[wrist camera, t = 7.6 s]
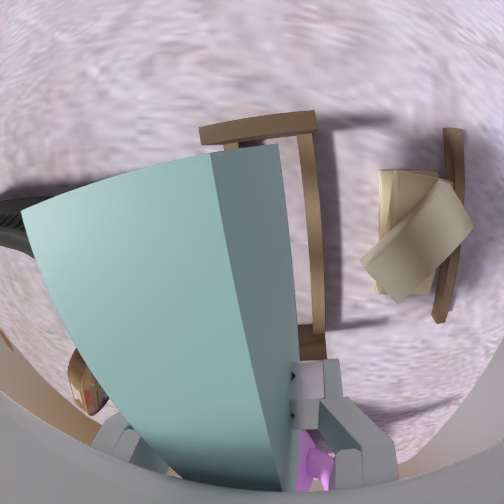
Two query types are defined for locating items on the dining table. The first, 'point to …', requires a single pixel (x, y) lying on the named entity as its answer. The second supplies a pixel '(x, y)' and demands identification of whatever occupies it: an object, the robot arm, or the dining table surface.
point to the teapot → (311, 464)
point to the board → (185, 308)
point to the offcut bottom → (385, 196)
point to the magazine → (16, 223)
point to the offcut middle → (401, 202)
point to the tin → (85, 386)
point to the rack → (303, 127)
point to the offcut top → (419, 242)
